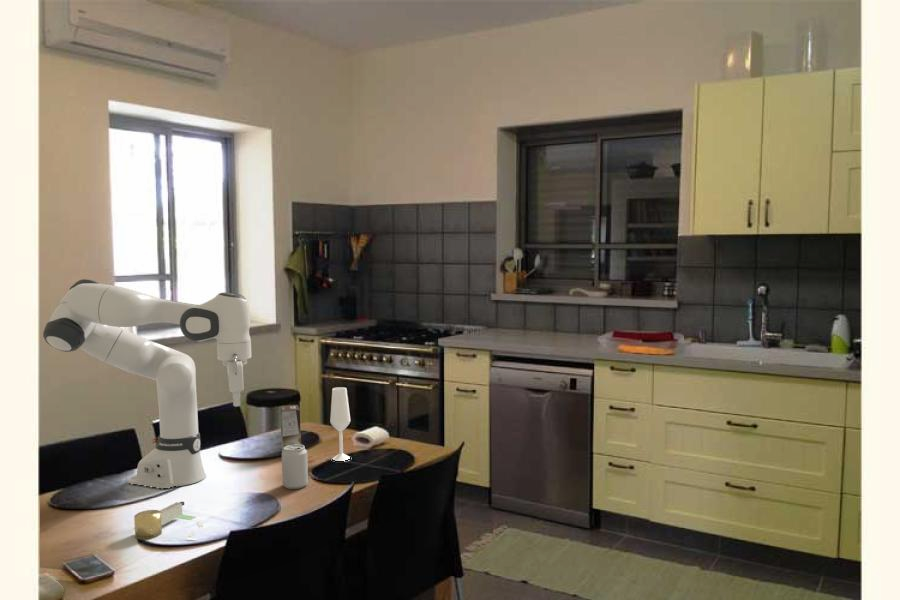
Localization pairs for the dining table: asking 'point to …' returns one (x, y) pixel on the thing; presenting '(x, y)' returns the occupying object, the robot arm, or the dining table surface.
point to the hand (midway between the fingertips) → (236, 402)
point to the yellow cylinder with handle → (155, 520)
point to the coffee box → (290, 425)
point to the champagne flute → (340, 417)
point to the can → (294, 466)
